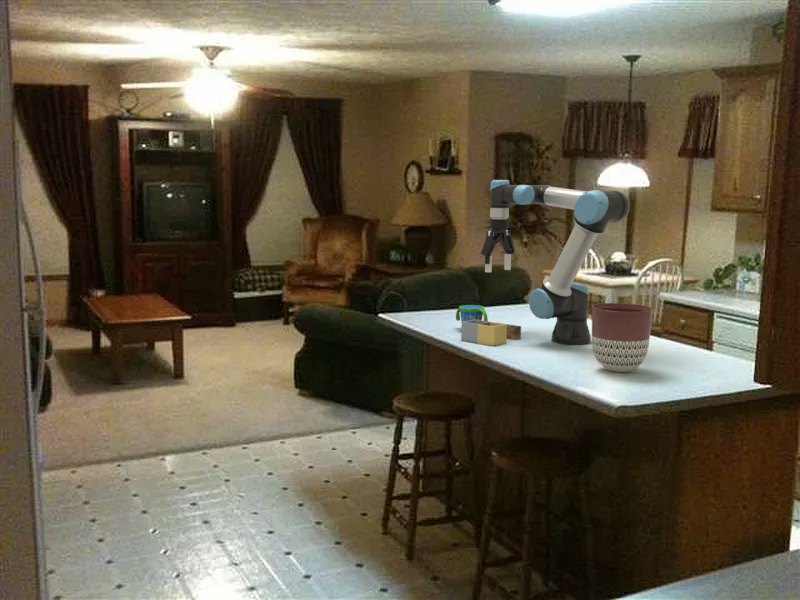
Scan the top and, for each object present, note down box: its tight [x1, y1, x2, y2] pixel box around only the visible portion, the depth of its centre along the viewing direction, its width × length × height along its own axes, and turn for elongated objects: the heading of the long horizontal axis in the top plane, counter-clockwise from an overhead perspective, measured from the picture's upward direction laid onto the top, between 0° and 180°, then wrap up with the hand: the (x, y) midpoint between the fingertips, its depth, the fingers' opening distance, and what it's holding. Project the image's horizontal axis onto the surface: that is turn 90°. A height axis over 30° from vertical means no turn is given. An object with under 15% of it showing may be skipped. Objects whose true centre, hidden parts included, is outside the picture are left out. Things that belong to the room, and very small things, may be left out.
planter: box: [591, 302, 653, 373], centre depth 274 cm, size 20×20×21 cm
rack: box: [500, 322, 522, 341], centre depth 333 cm, size 12×4×5 cm, turn 47°
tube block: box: [460, 319, 508, 347], centre depth 322 cm, size 16×8×8 cm, turn 47°
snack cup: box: [455, 304, 489, 323], centre depth 347 cm, size 16×10×10 cm
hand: (498, 271), depth 336 cm, fingers open, 13 cm apart
